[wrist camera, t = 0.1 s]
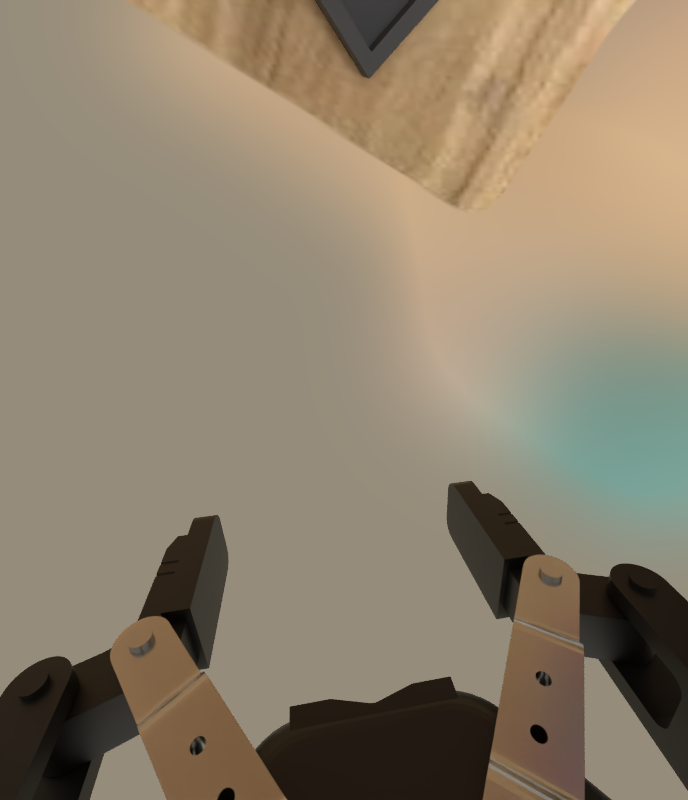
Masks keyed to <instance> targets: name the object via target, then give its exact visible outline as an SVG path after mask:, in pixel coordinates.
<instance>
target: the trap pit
mask: <svg viewBox="0 0 688 800" xmlns="http://www.w3.org/2000/svg"><path fill="white" fill-rule="evenodd" d="M315 1H316V2H317V4H318V6H319V7H320V9H321V10H322V12H323V14H324V15H325V17H326V18H327V20H328V21H329V23H330V25H331V26H332V28H333V29H334V31H335V33H336V34H337V36H338V37H339V39H340V40H341V42H342V44H343V45H344V47H345V48H346V50H347V51H348V53H349V55H350V56H351V58H352V59H353V61H354V63H355V64H356V66H357V67H358V69H359V70H360V72H361V74H362V75H363V76H364V77H367V78H370V77H371V76H372V75H373V74H374V73H375V71H376V70H377V69H378V68H379V67H380V66H381V65H382V63H383V62H384V61H385V60H386V59H387V58H388V57H389V56H390V54H391V53H392V52H393V51H394V50H395V49H396V48H397V47H398V45H399V44H400V43H401V42H402V41H403V40H404V39H405V37H406V36H407V35H408V34H409V33H410V32H411V31H412V30H413V28H414V27H415V26H416V25H417V24H418V23H419V22H420V21H421V19H422V18H423V17H424V16H425V15H426V14H427V13H428V11H429V10H430V9H431V8H432V7H433V6H434V5H435V4H436V2H437V1H438V0H315Z"/></svg>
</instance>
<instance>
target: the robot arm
mask: <svg viewBox="0 0 688 800" xmlns="http://www.w3.org/2000/svg"><path fill="white" fill-rule="evenodd" d="M447 524H448V529H449V532H450V535H451V537H452V539H453V541H454V543H455V545H456V546H457V548H458V550H459V552H460V554H461V555H462V557H463V559H464V561H465V563H466V564H467V566H468V568H469V570H470V571H471V574H472V575H473V577H474V579H475V581H476V583H477V584H478V586H479V588H480V590H481V591H482V594H483V595H484V597H485V599H486V601H487V603H488V604H489V606H490V608H491V610H492V612H493V613H494V615H495V617H496V619H500V618H505V617H510V619H511V620H512V622H513V627H512V633H511V639H510V644H509V650H508V656H507V662H506V668H505V673H504V680H503V686H502V691H501V697H500V703H499V708H498V707H497V706H495V705H494V704H492V703H491V702H489V701H487V700H485V699H483V698H481V697H478V696H475V695H473V694H469V693H465V692H460V691H456V690H455V688H454V685H453V682H452V680H451V677H446V678H440V679H435V680H429V681H424V682H420V683H413V684H411V685H409V686H407V687H405V688H403V689H401V690H399V691H397V692H395V693H394V694H392V695H390V696H388V697H386V698H384V699H382V700H380V701H378V702H376V703H362V702H353V701H343V700H334V699H328V700H323V701H318V702H313V703H308V704H302V705H297V706H291V707H290V722H289V723H287V724H285V725H283V726H281V727H280V728H279V729H277V730H276V731H274V732H273V733H272V734H270V735H269V736H268V737H267V738H266V739H265V740H264V741H263V742H262V743H261V744H260V745H259V746H258V747H257V748H256V749H254V748H253V746H252V744H251V743H250V741H249V740H248V738H247V737H246V735H245V734H244V732H243V730H242V729H241V727H240V726H239V724H238V723H237V721H236V719H235V718H234V716H233V715H232V713H231V712H230V710H229V708H228V707H227V705H226V704H225V702H224V701H223V699H222V698H221V696H220V694H219V693H218V691H217V690H216V688H215V687H214V685H213V683H212V682H211V680H210V679H209V678H208V676H207V675H206V673H205V672H202V673H201V672H200V671H199V670H200V669H206V668H209V665H210V660H211V655H212V649H213V644H214V639H215V633H216V628H217V623H218V618H219V613H220V607H221V602H222V597H223V592H224V586H225V581H226V576H227V570H228V551H227V546H226V542H225V538H224V534H223V530H222V526H221V522H220V518H219V516H218V515H214V516H207V517H200V518H195V519H194V520H193V522H192V524H191V527H190V530H189V533H188V535H184V536H178V537H177V538H176V539H175V540H174V542H173V543H172V544H171V545H170V546H169V547H168V548H167V550H166V552H165V555H164V557H163V560H162V562H161V565H160V567H159V569H158V572H157V577H155V579H154V582H153V584H152V587H151V589H150V592H149V594H148V597H147V599H146V602H145V604H144V607H143V609H142V612H141V614H140V617H139V619H138V621H137V622H135V623H133V624H132V625H130V626H129V627H127V628H126V629H125V630H124V631H123V632H122V633H121V634H120V635H119V636H118V638H117V639H116V641H115V643H114V644H113V646H112V648H111V649H109V650H107V651H105V652H104V653H102V654H99V655H97V656H95V657H92V658H90V659H88V660H85V661H84V662H81V663H79V664H76V665H74V666H72V665H71V663H70V661H69V660H68V659H66V658H65V657H59V656H58V657H57V656H56V657H50V658H46V659H44V660H41V661H39V662H37V663H35V664H33V665H32V666H30V667H28V668H27V669H26V670H24V671H23V672H22V673H20V674H19V675H18V676H17V677H16V678H15V679H14V680H13V681H12V682H11V683H10V684H9V685H8V687H7V688H6V689H5V691H4V692H3V694H2V695H1V697H0V800H90V797H91V794H92V790H93V787H94V784H95V781H96V778H97V774H98V771H99V768H100V765H101V762H102V758H103V756H104V753H105V752H107V751H109V750H111V749H113V748H115V747H117V746H119V745H120V744H122V743H124V742H126V741H128V740H130V739H132V738H134V737H135V736H137V735H139V734H140V736H141V738H142V740H143V743H144V745H145V748H146V750H147V753H148V755H149V757H150V760H151V762H152V765H153V767H154V770H155V772H156V775H157V777H158V779H159V782H160V784H161V787H162V789H163V792H164V794H165V796H166V799H167V800H611V799H610V798H609V797H608V796H606V795H605V794H604V793H603V792H601V791H600V790H599V789H598V788H597V787H596V786H594V785H593V784H592V783H591V782H589V781H588V780H587V779H586V778H585V760H584V757H585V756H584V754H585V752H584V657H590V658H596V659H599V661H600V662H601V664H602V665H603V667H604V668H605V670H606V671H607V672H608V674H609V675H610V677H611V678H612V680H613V681H614V683H615V684H616V686H617V687H618V689H619V690H620V692H621V693H622V695H623V696H624V697H625V699H626V700H627V702H628V703H629V705H630V706H631V708H632V709H633V711H634V712H635V713H636V715H637V717H638V718H639V720H640V721H641V723H642V724H643V726H644V727H645V728H646V730H647V731H648V733H649V734H650V736H651V737H652V739H653V740H654V742H655V743H656V745H657V746H658V747H659V749H660V751H661V752H662V753H663V755H664V756H665V758H666V759H667V761H668V762H669V764H670V765H671V767H672V768H673V770H674V771H675V773H676V774H677V776H678V777H679V778H680V780H681V781H682V783H683V784H684V786H685V787H686V789H687V790H688V602H687V600H686V599H685V598H684V597H683V596H681V595H680V594H679V593H678V592H677V591H676V590H675V589H674V588H673V587H672V586H671V585H670V584H669V583H668V582H667V581H666V580H665V579H664V578H662V577H661V576H660V575H658V574H657V573H655V572H653V571H651V570H649V569H647V568H644V567H642V566H638V565H634V564H618V565H616V566H614V567H613V568H612V569H611V572H610V576H609V577H604V576H595V575H587V574H579V573H576V572H575V571H574V570H573V568H571V566H569V565H568V564H567V563H565V562H563V561H562V560H560V559H558V558H555V557H553V556H549V555H545V553H544V552H543V551H542V550H541V549H540V547H539V546H538V545H537V544H536V542H535V541H534V540H533V539H532V538H531V536H530V535H529V534H528V533H527V531H526V530H525V529H524V528H523V527H522V525H521V524H520V523H518V521H517V519H516V518H515V517H514V516H513V515H512V514H511V512H510V511H509V510H508V508H507V507H506V506H505V505H504V504H503V503H502V501H500V500H499V499H497V498H495V497H494V496H492V495H491V494H489V493H487V494H482V493H481V492H480V491H479V489H478V488H477V487H476V486H475V484H474V483H473V482H472V481H467V482H459V483H452V484H450V485H449V488H448V505H447Z"/></svg>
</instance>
